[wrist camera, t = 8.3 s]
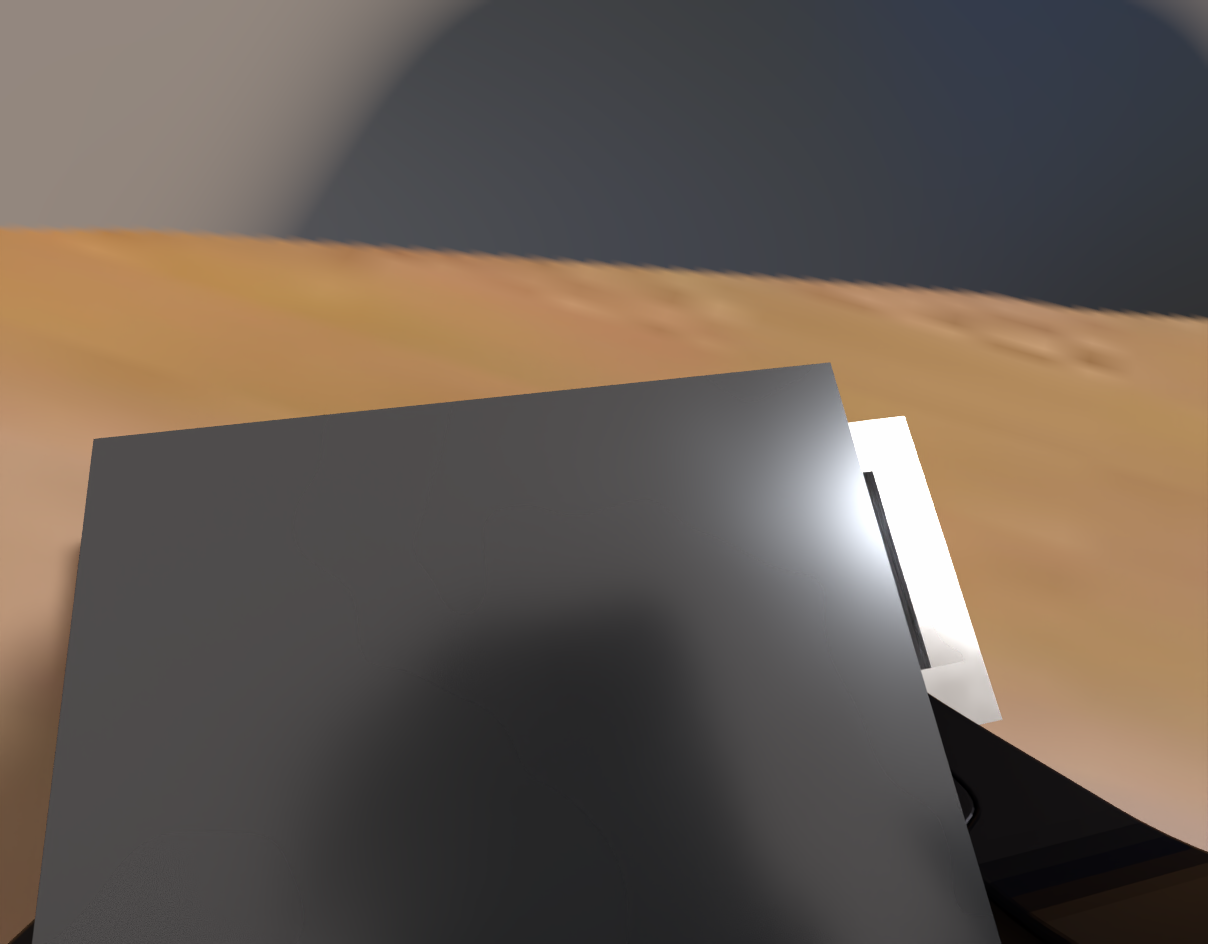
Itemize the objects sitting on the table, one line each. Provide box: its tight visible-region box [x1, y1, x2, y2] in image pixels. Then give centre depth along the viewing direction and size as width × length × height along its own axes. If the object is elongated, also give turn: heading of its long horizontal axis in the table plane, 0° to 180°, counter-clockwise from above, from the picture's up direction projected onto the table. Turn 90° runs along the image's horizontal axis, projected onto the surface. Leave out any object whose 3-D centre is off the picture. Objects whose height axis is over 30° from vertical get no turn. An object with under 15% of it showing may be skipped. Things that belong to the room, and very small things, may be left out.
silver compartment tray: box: [848, 416, 1002, 725], centre depth 14 cm, size 26×10×3 cm, turn 99°
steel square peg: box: [32, 363, 1001, 944], centre depth 8 cm, size 5×5×12 cm
